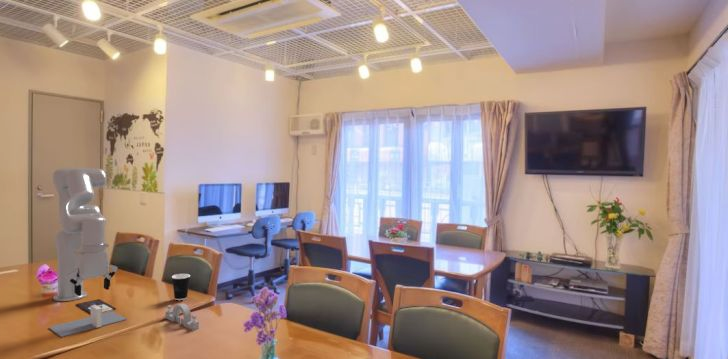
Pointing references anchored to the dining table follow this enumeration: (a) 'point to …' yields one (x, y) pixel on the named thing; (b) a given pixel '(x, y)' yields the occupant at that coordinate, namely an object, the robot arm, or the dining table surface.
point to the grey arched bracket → (186, 312)
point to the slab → (96, 316)
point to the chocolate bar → (98, 302)
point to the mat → (84, 324)
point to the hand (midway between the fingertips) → (92, 291)
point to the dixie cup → (180, 286)
